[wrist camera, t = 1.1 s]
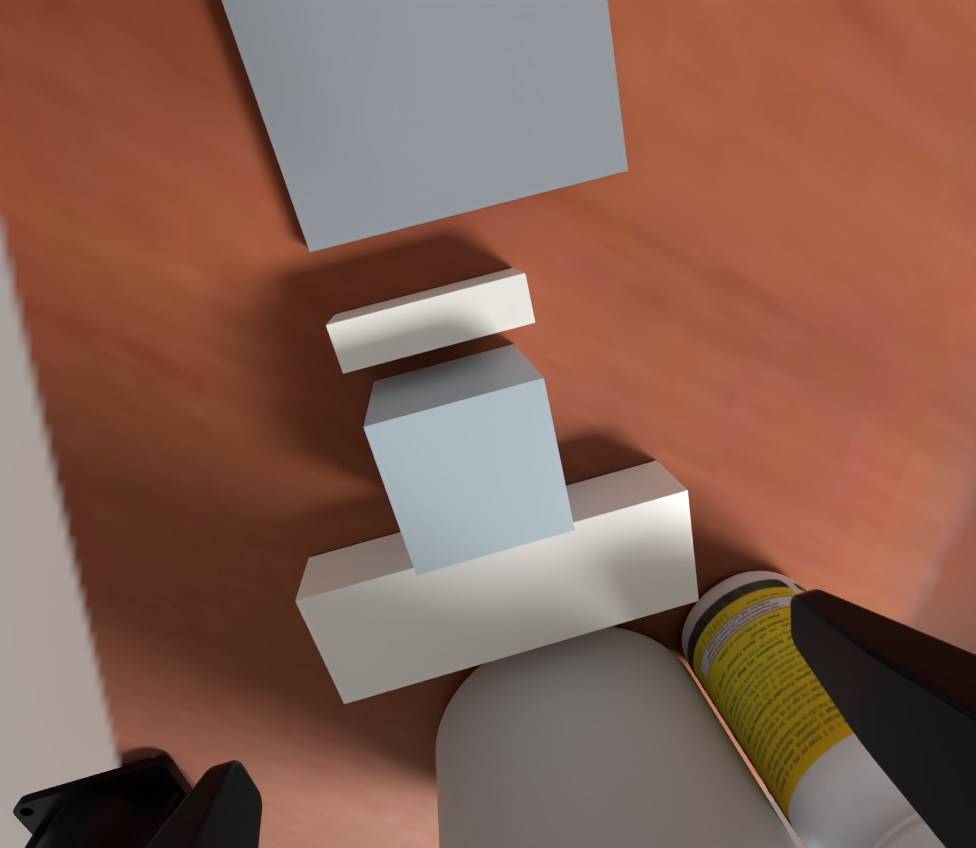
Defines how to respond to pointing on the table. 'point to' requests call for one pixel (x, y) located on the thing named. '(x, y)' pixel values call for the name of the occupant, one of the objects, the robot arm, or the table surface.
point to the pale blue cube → (468, 457)
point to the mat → (429, 104)
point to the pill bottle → (792, 720)
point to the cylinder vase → (594, 755)
